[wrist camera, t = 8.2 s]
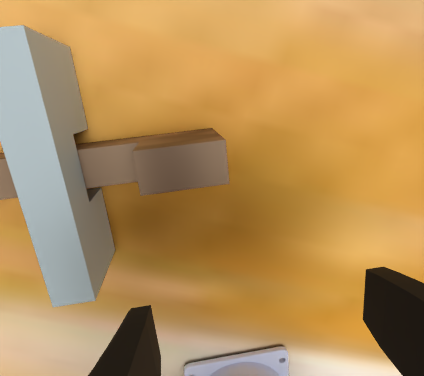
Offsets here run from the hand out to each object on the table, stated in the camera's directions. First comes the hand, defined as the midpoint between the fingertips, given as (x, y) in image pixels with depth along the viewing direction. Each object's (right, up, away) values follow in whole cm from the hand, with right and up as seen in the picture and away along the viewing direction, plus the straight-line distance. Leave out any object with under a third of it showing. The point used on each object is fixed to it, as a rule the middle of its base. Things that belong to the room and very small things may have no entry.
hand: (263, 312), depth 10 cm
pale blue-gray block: (-10, +6, +8) cm, 13 cm away
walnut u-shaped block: (-10, +6, +8) cm, 13 cm away
